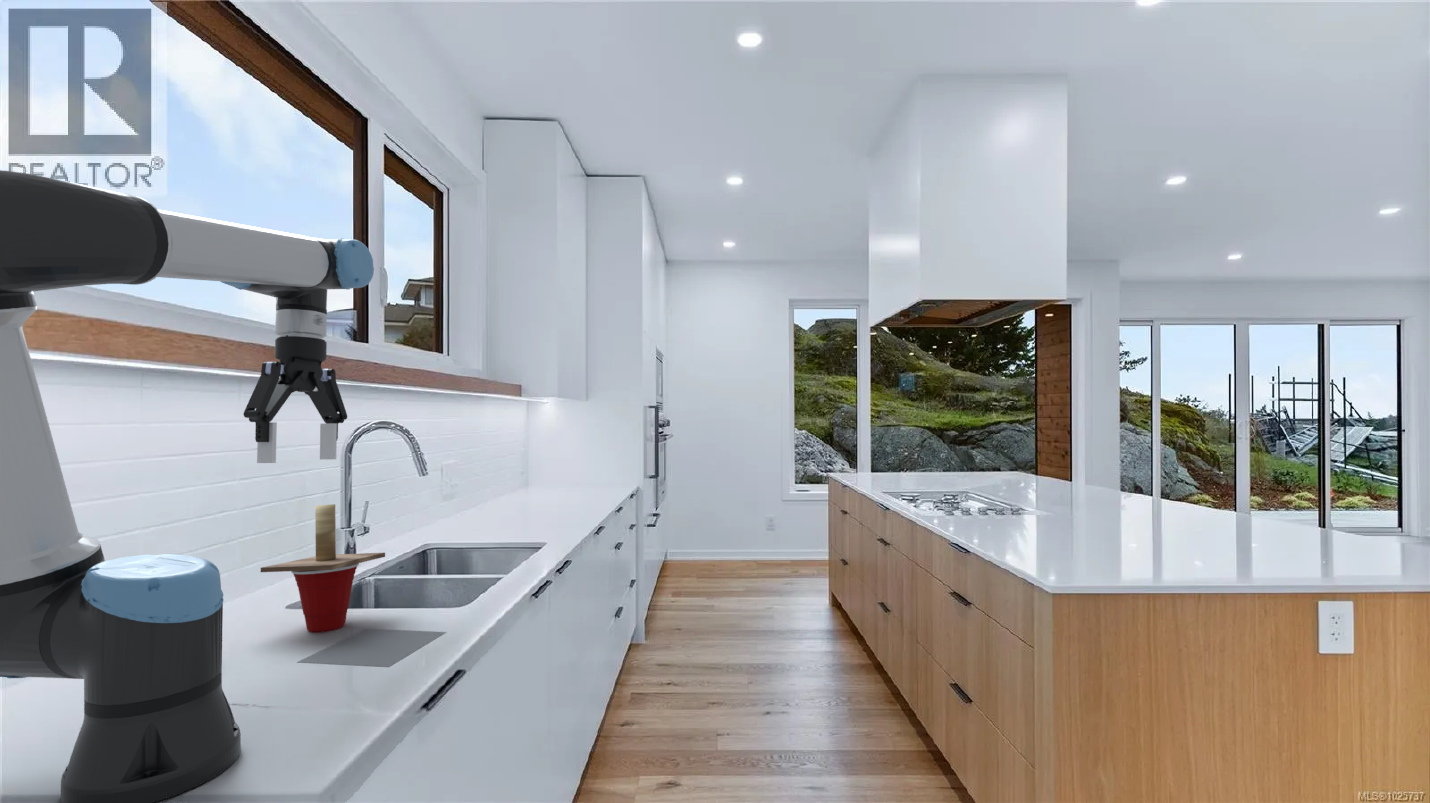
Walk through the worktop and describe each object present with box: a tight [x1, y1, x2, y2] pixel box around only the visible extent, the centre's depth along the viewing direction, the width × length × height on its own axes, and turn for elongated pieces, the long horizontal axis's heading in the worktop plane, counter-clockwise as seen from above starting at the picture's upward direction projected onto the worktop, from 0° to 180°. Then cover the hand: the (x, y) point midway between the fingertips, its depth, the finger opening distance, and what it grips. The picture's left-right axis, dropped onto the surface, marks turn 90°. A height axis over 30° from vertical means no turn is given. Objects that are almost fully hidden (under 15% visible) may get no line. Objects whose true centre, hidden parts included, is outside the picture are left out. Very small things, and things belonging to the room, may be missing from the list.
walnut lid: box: [260, 504, 386, 573], centre depth 121 cm, size 14×14×11 cm
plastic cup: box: [290, 563, 360, 634], centre depth 121 cm, size 11×11×12 cm
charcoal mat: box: [296, 628, 447, 668], centre depth 110 cm, size 16×16×1 cm
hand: (299, 461), depth 112 cm, fingers open, 13 cm apart
